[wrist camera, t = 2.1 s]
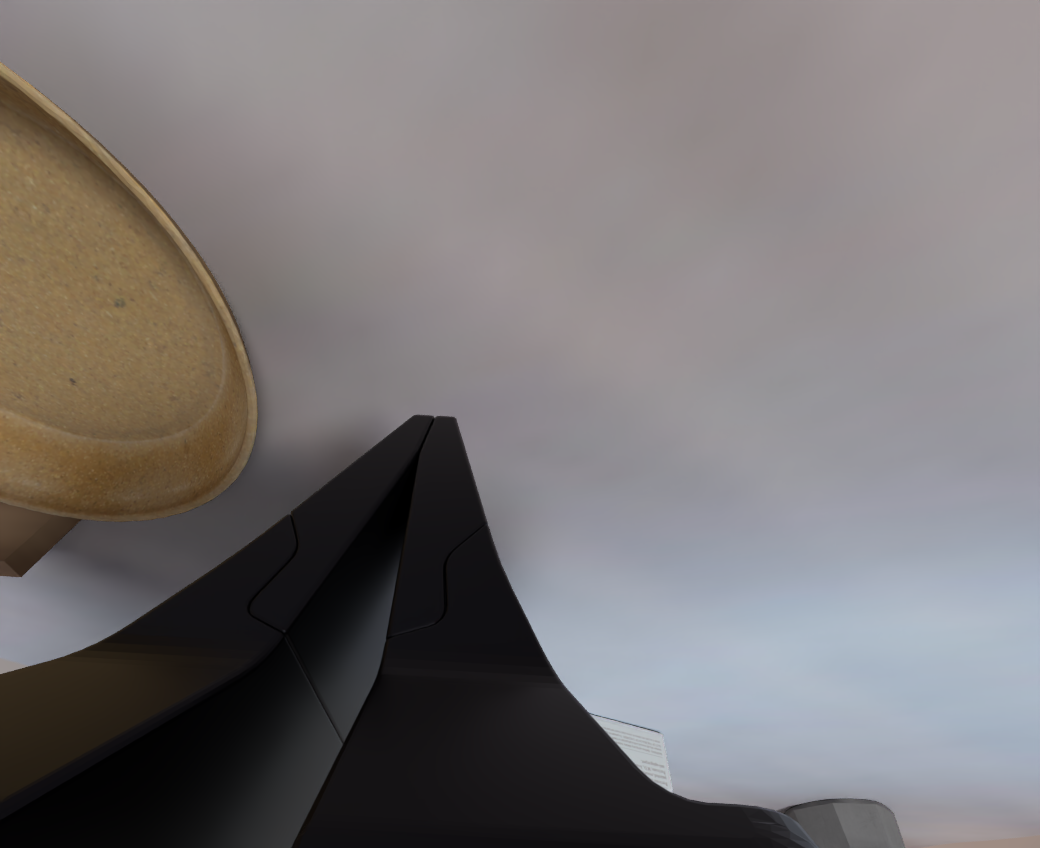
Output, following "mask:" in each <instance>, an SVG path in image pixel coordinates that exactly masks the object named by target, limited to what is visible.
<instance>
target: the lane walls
mask: <svg viewBox="0 0 1040 848" xmlns="http://www.w3.org/2000/svg"><path fill="white" fill-rule="evenodd" d="M80 520H82V519H77V518H71V517H62V516H58V515H52V514H46V513H42V512H38V511H33V510H29V509H26V508H22V507H17V506H13V505H9V504H6V503H3V502H0V576H11V577H22V576H23V575H24V574H25V573H26V572H27V571H28V570H29V569H30V568H31V567H32V566H33V565H34V564H35V563H36V562H38V561H39V560H40V559H41V558H42V557H43V556H44V555H45V554H46V553H47V552H48V551H49V550H50V549H51V548H52V547H53V546H54V545H55V544H56V543H57V542H58V541H60V540H61V539H62V538H63V537H64V536H65V535H66V534H67V533H68V532H69V531H70V530H71V529H72V528H73V527H74V526H75V525H76V524H77V523H78V522H79V521H80Z"/></svg>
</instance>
